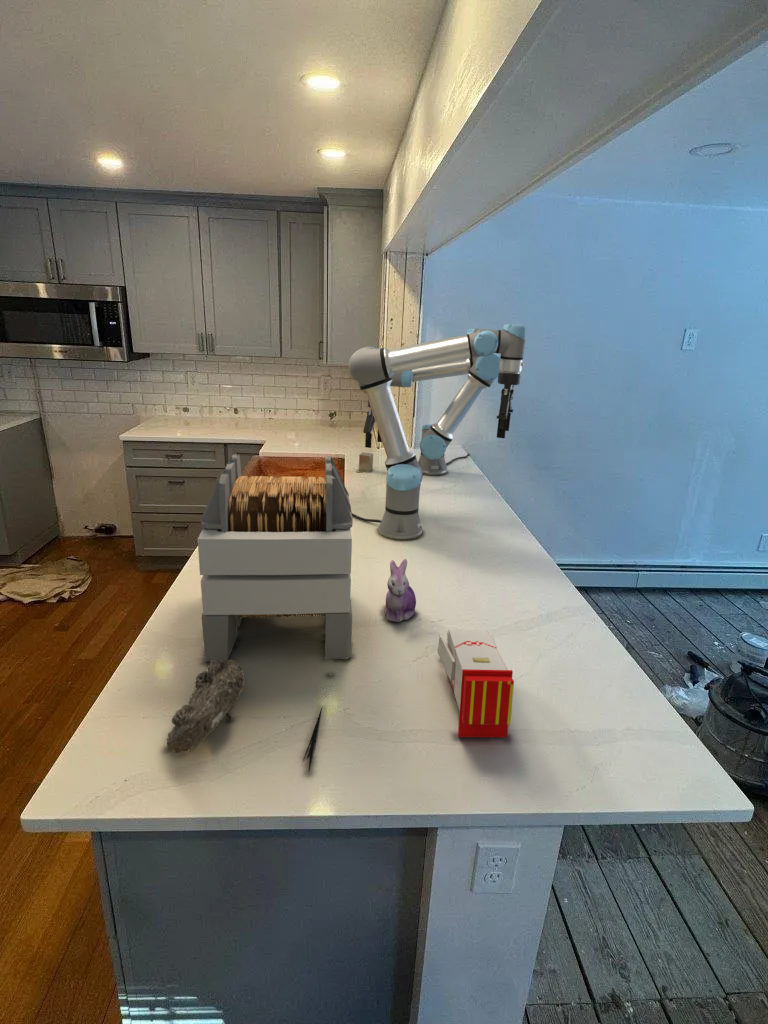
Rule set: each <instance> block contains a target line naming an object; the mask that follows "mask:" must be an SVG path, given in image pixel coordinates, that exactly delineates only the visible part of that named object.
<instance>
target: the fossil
mask: <svg viewBox="0 0 768 1024" xmlns="http://www.w3.org/2000/svg"><path fill="white" fill-rule="evenodd" d="M243 670H244V669H243V667H242V665H240V664H237V662H236V661H235V660H234V659H232V658H231V659H229V658H228V659H227V660H224V661H217V660H212V661H211V662H209V665H208V666H207V671H201V672H199V673H198V674H197V675H196V676H195V680H194V684H195V685H194V687H195V689H194V690H193V693H192V694H191V697H190V698H189V700H188V704H184V705H182V706H181V707H180V709H177V710H176V711H175V713H174V715H173V716H172V718H171V723H172V724H173V727H172V730H171V731H170V732H168V734H167V738H166V741H167V742H166V745H167V749H168V750H169V751H173V752H174V753H176V754H178V753H182V752H188V751H189V752H192V751H193V750H195V748H196V747H197V746H199V744H200V743H201V742H203V741H204V740H205V739H206V738H207V737H208V736H209V735H210V734H211V733H212V732H214V730H215V729H217V727H218V726H219V724H220V722H221V721H222V720H223V719H224V718H225V716H226V717H227V719H229V720H233V717H232V715H230V714H229V710H230V709H231V708H234V706H235V704H236V703H237V702H238V699H239V697H240V695H241V693H242V691H243V690H245V689H244V688H245V675H244V671H243Z"/></svg>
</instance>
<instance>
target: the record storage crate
mask: <svg viewBox="0 0 768 1024" xmlns="http://www.w3.org/2000/svg"><path fill="white" fill-rule="evenodd" d="M324 457H325V458H324V459H325V461H324V462H325V463H324V464H325V465H324V468H325V469H324V476H318V477H316V476H307V477H303V476H288V475H287V476H280V477H279V476H274V475H270V476H268V475H259V476H258V475H255V476H254V475H250V476H247V475H242V466H241V456H240V454H231V457H230V459H229V462H227V463H226V466H225V467H224V470H223V472H222V474H220V476H219V478H218V480H217V482H216V484H215V487H214V488H213V491H212V493H211V496H210V498H209V500H208V502H207V505H206V507H205V509H204V511H203V513H202V516H201V518H200V527H201V532H200V533H199V535H198V537H197V550H198V565H199V576H202V577H201V579H200V590H201V591H200V592H201V606H202V607H201V608H202V613H201V626H202V627H201V629H202V640H203V646H204V658H203V660H204V662H208V663H210V662H211V661H212V660H217V661H222V662H223V661H224V660H227V659H228V660H229V658H230V655H231V653H232V650H233V648H234V645H235V643H236V640H237V638H238V628H240V625H241V621H242V619H243V618H282V617H283V618H289V617H290V618H293V617H297V618H298V617H314V616H315V617H320V616H321V617H324V653H325V654H324V655H325V660H338V659H339V660H348V659H350V658H352V644H353V643H352V641H353V639H352V638H353V610H352V600H351V588H352V587H351V586H352V582H351V581H352V577H351V574H352V553H353V552H352V548H353V547H352V546H353V537H352V530H351V528H352V527H353V523H354V520H353V516H352V506H351V501H350V500H351V499H350V494H349V491H348V489H347V487H346V485H345V483H344V481H343V478H342V477H341V474H340V472H339V470H338V468H337V466H336V463H335V461H334V460H333V457H332V455H328V454H327V455H326V454H325V456H324Z"/></svg>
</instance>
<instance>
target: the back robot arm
mask: <svg viewBox="0 0 768 1024" xmlns="http://www.w3.org/2000/svg"><path fill="white" fill-rule="evenodd" d="M500 356H501V355H500V354H499V353H493V354H492V355H490V356H486V357H483V356H481V357H476V358H470V359H465V360H460V361H455V362H450V363H445V364H440V365H435V366H430V367H425V368H420V369H415V370H410V371H405V372H400V373H395V374H393V375H392V377H391V378H392V382H391V384H390V387H395V388H404V389H405V388H412V386H413V383H415V382H422V381H429V380H437V379H443V378H450V377H458V376H465V375H467V379H466V380H465V382H464V383H463V385H462V386H461V387H460V389H459V390H458V392H457V393H456V395H455V396H454V398H453V399H452V401H451V402H450V404H449V405H448V406H447V408H446V409H445V411H444V412H443V413H442V415H441V417H440V418H439V420H438V421H437V422H436V423H431V424H423V425H422V428H421V439H420V443H419V450H420V456H419V459H418V460H417V461H418V463H419V465H420V467H421V469H422V473H423V475H425V476H443V475H446V474H447V473H448V465H449V464H451V463H453V462H454V461H456V460H461V459H464V458H468V456H470V457H471V454H470V453H467V454H466V455H465V456H458V457H455V458H453V459H451V460H450V461H448V462H447V461H446V459H445V458H446V457H445V454H446V451H447V448H448V446H449V445H450V444H451V442H452V441H453V440H454V436H453V434H454V433H455V431H456V429H458V427H459V425H460V424H461V422H462V421H463V420H464V418H465V417H466V416H467V414H468V412H469V411H470V410H471V409H472V407H473V406H474V404H475V403H476V402H477V400H478V399H479V397H480V396H481V395H482V393H483V391H484V390H487V389H490V387H491V386H492V385H493V384H494V382H495V381H496V380H498V374H499V372H500V371H499V363H500ZM367 407H368V408H370V410H367V411H366V418H365V423H364V427H363V434H365V443H364V447H365V448H367V449H371V448H372V439H373V438H372V437H373V433H372V431H373V428H374V426H375V424H376V422H375V418H374V415H373V412H372V409H371V406H370V403H369V400H368V399H367ZM376 439H377V440H376V442H377V443H382V440H381V437H380V434H379V431H378V430H377V437H376Z"/></svg>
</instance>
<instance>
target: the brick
mask: <svg viewBox="0 0 768 1024" xmlns="http://www.w3.org/2000/svg"><path fill="white" fill-rule="evenodd" d="M373 467H374V453H371V452H361V453H360V454H359V455H358V471H359V472H364V473H370V472H372V471H373Z"/></svg>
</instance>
